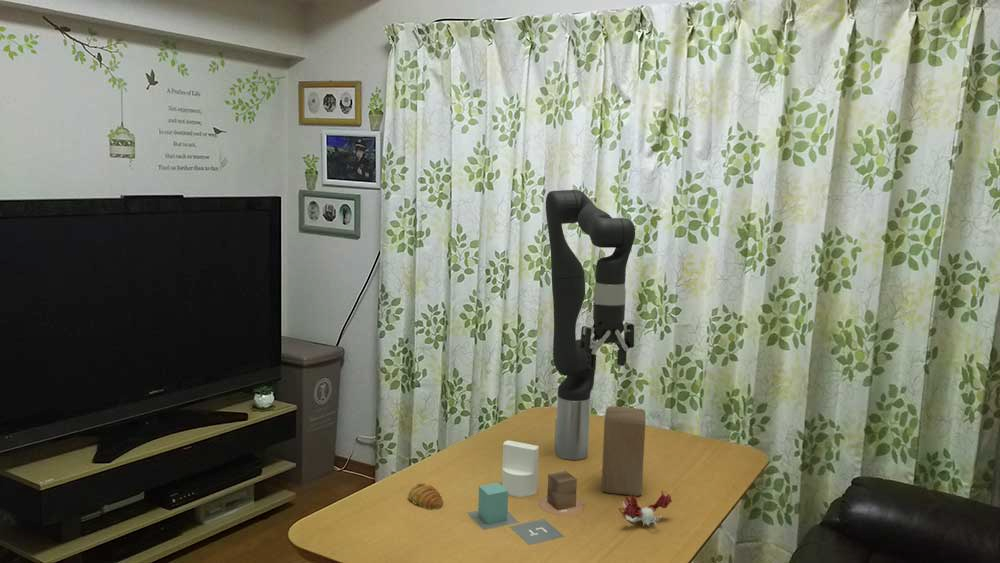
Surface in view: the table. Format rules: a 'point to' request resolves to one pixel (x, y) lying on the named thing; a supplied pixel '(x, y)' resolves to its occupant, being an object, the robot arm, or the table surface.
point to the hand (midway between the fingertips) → (606, 367)
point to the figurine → (644, 509)
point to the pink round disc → (565, 512)
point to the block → (623, 450)
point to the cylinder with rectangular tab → (520, 468)
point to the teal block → (493, 503)
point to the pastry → (425, 496)
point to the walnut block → (561, 490)
